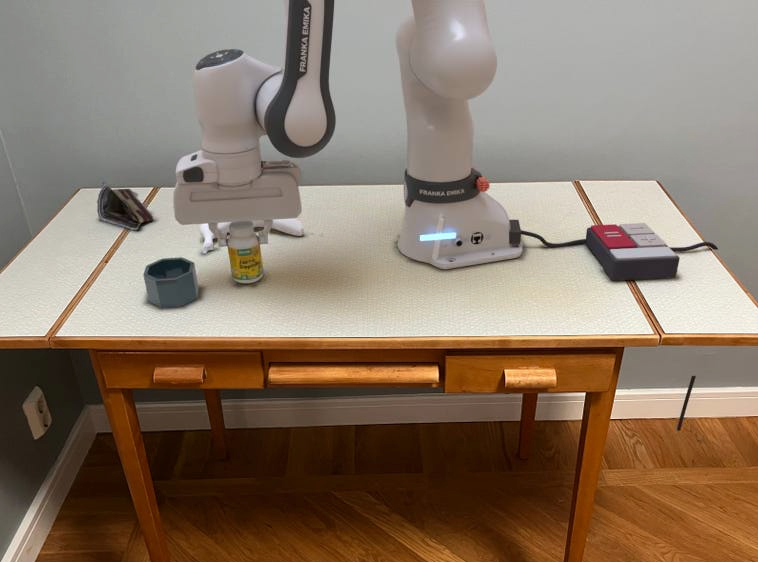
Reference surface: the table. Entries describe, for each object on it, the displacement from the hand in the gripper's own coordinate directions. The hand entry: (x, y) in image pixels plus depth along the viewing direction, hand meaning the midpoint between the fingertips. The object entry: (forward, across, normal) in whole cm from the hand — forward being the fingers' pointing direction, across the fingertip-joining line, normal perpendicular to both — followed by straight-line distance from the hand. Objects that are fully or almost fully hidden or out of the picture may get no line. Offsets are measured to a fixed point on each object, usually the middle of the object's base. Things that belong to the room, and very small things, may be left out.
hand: (243, 244), depth 123 cm
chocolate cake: (+7, +24, -29) cm, 38 cm away
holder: (+7, +12, +4) cm, 14 cm away
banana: (+7, 0, -16) cm, 17 cm away
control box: (+7, -66, +2) cm, 67 cm away
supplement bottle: (+6, 0, 0) cm, 6 cm away
